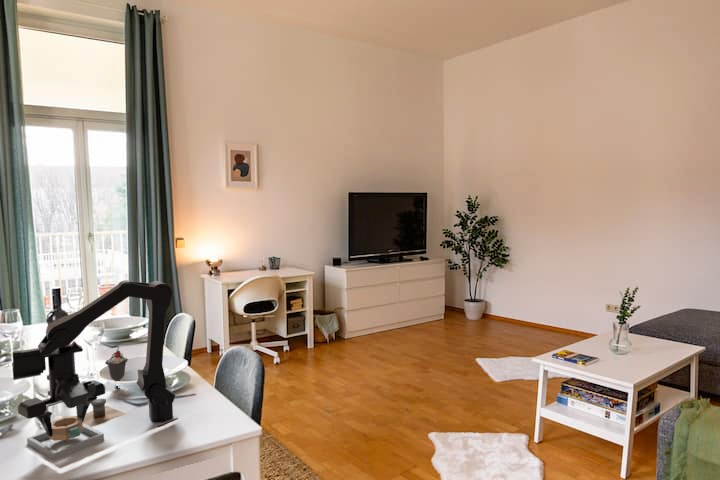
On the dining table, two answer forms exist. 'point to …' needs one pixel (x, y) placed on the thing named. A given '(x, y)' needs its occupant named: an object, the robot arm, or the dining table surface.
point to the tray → (54, 454)
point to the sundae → (117, 366)
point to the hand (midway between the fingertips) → (65, 430)
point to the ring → (66, 428)
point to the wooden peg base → (100, 413)
